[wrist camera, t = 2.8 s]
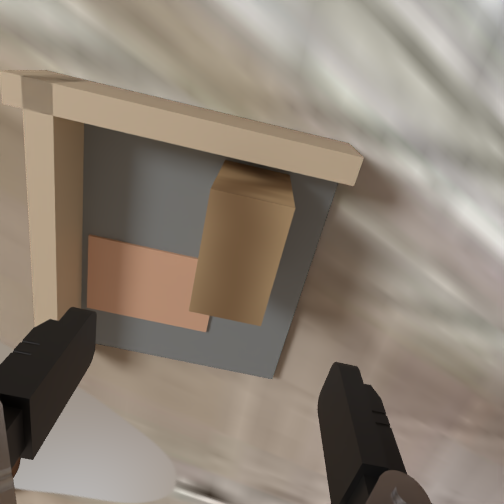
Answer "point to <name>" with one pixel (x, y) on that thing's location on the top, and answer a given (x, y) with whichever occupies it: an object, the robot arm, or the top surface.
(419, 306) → the top surface
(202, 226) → the tray
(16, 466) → the brown rough-edged lump
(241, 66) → the top surface
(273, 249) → the oak block
